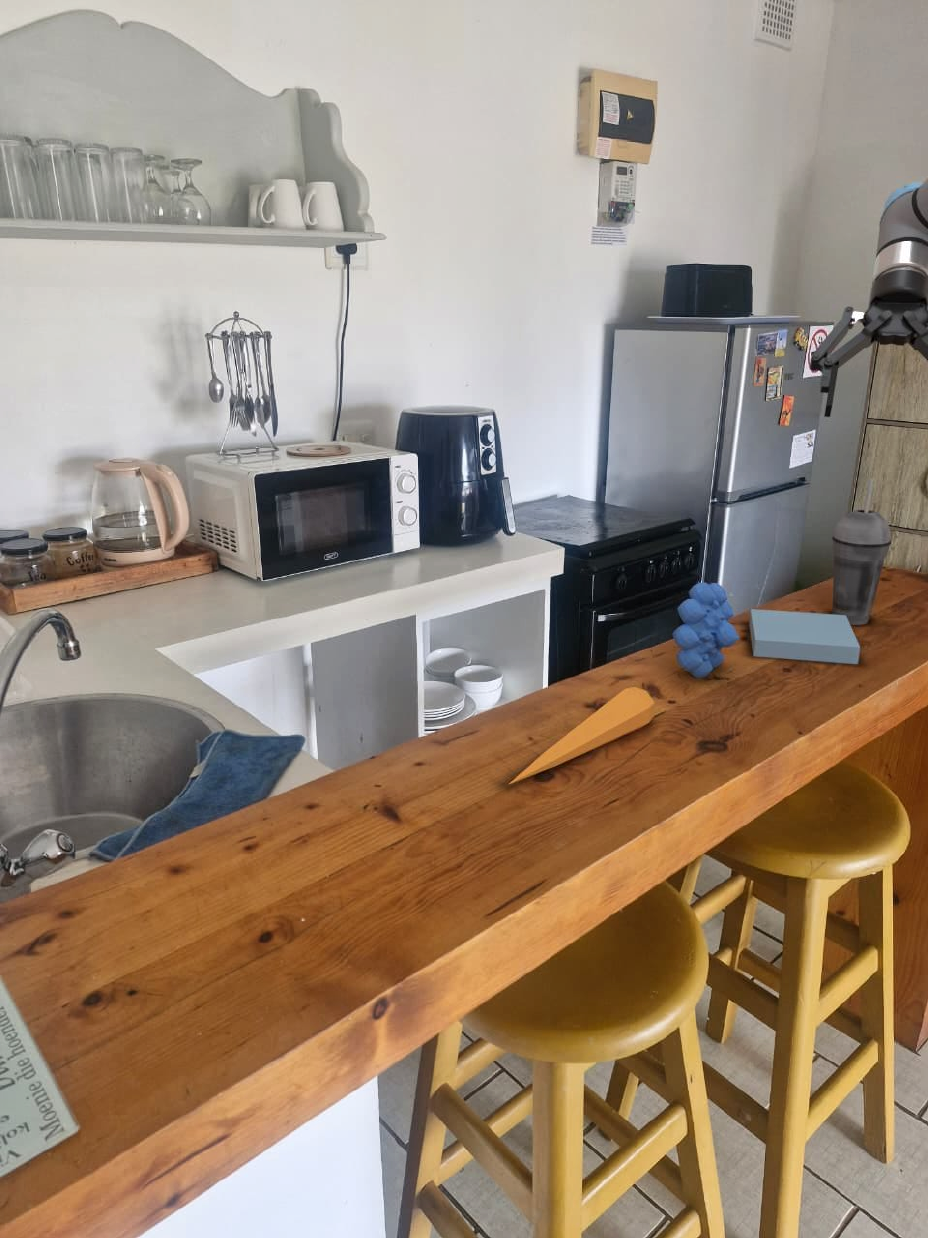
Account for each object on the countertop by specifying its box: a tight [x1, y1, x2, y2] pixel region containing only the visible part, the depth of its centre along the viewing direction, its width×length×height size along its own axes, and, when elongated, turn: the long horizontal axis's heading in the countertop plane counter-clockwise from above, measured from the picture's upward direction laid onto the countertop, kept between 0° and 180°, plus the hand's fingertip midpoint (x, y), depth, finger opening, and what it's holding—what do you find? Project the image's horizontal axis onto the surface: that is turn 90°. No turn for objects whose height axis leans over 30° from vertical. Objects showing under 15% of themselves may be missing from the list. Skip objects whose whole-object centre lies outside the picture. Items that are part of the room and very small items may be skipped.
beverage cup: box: [831, 477, 892, 626], centre depth 116 cm, size 7×7×20 cm
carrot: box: [508, 686, 656, 785], centre depth 85 cm, size 20×4×4 cm, turn 132°
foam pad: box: [748, 608, 861, 665], centre depth 111 cm, size 12×12×2 cm
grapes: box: [672, 582, 740, 679], centre depth 100 cm, size 12×7×12 cm, turn 138°
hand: (882, 415), depth 116 cm, fingers open, 13 cm apart
